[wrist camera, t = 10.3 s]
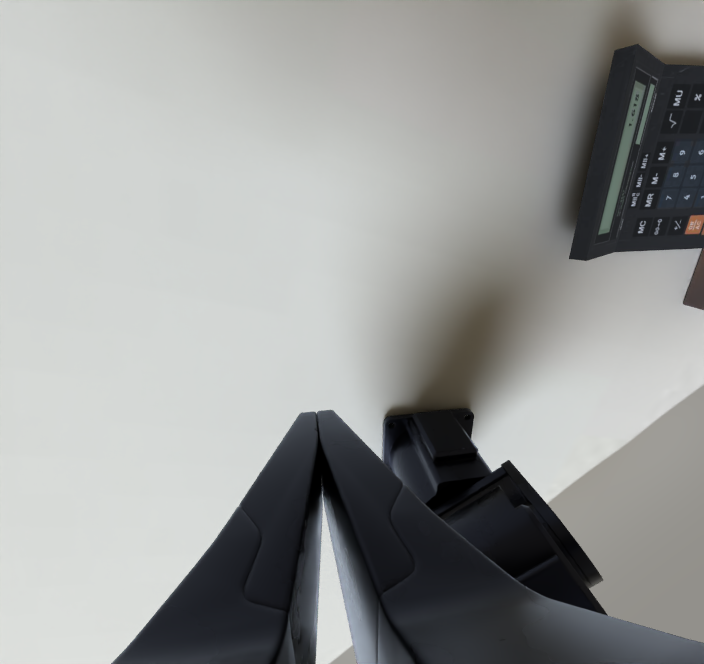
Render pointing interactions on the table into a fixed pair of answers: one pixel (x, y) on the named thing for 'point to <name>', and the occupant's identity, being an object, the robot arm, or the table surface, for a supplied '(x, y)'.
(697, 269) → the rail
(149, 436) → the table surface
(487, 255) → the table surface
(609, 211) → the calculator
